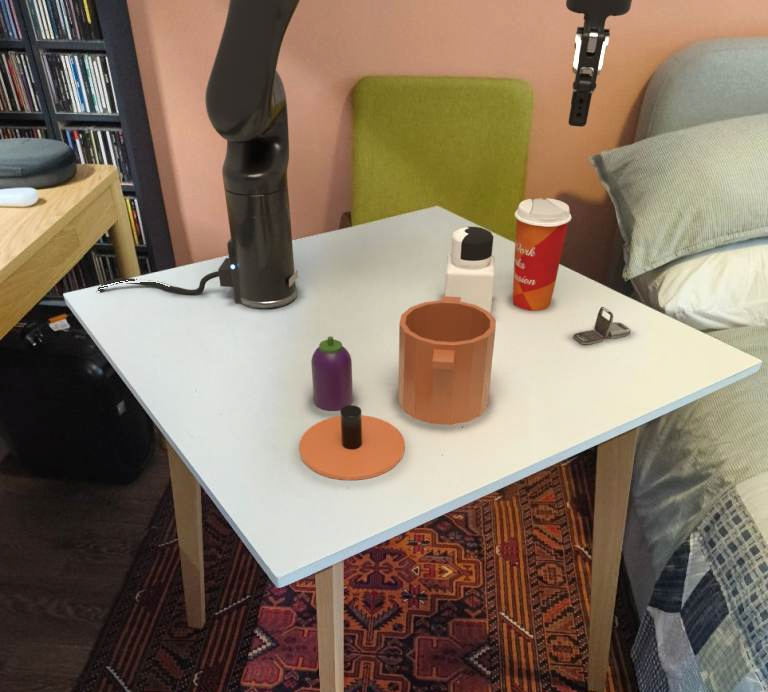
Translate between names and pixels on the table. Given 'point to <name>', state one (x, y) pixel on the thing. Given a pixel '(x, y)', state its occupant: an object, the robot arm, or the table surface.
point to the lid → (351, 446)
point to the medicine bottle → (471, 267)
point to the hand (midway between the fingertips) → (577, 115)
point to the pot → (445, 360)
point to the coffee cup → (538, 251)
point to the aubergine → (332, 376)
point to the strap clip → (603, 329)
